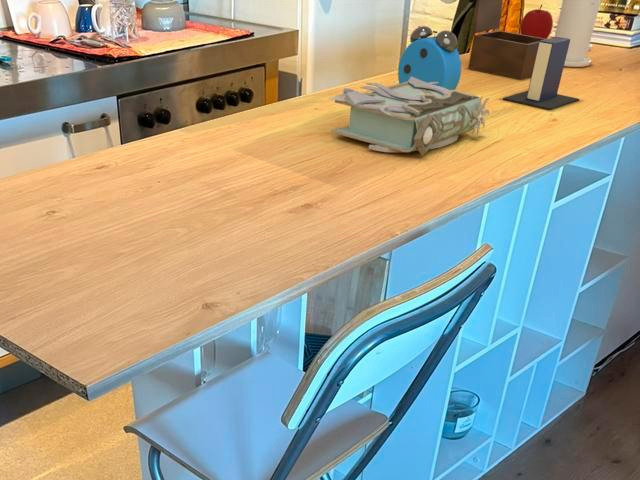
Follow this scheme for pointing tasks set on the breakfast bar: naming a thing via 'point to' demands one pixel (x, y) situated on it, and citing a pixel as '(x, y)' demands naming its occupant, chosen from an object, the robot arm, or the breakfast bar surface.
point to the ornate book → (410, 115)
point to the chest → (504, 54)
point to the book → (548, 68)
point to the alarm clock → (431, 58)
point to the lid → (487, 15)
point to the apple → (537, 24)
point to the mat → (546, 104)
